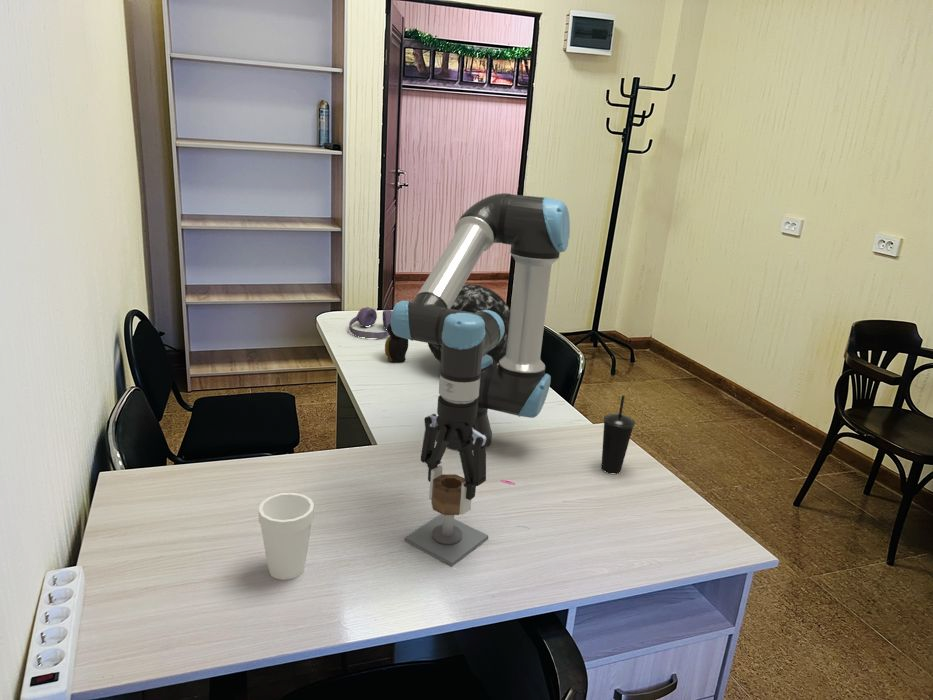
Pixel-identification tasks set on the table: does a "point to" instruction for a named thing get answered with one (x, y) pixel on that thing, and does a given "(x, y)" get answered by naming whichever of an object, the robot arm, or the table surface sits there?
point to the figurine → (395, 346)
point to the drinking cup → (616, 440)
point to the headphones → (370, 322)
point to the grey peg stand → (446, 539)
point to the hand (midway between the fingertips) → (449, 504)
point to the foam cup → (286, 533)
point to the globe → (479, 300)
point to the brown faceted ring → (447, 494)
